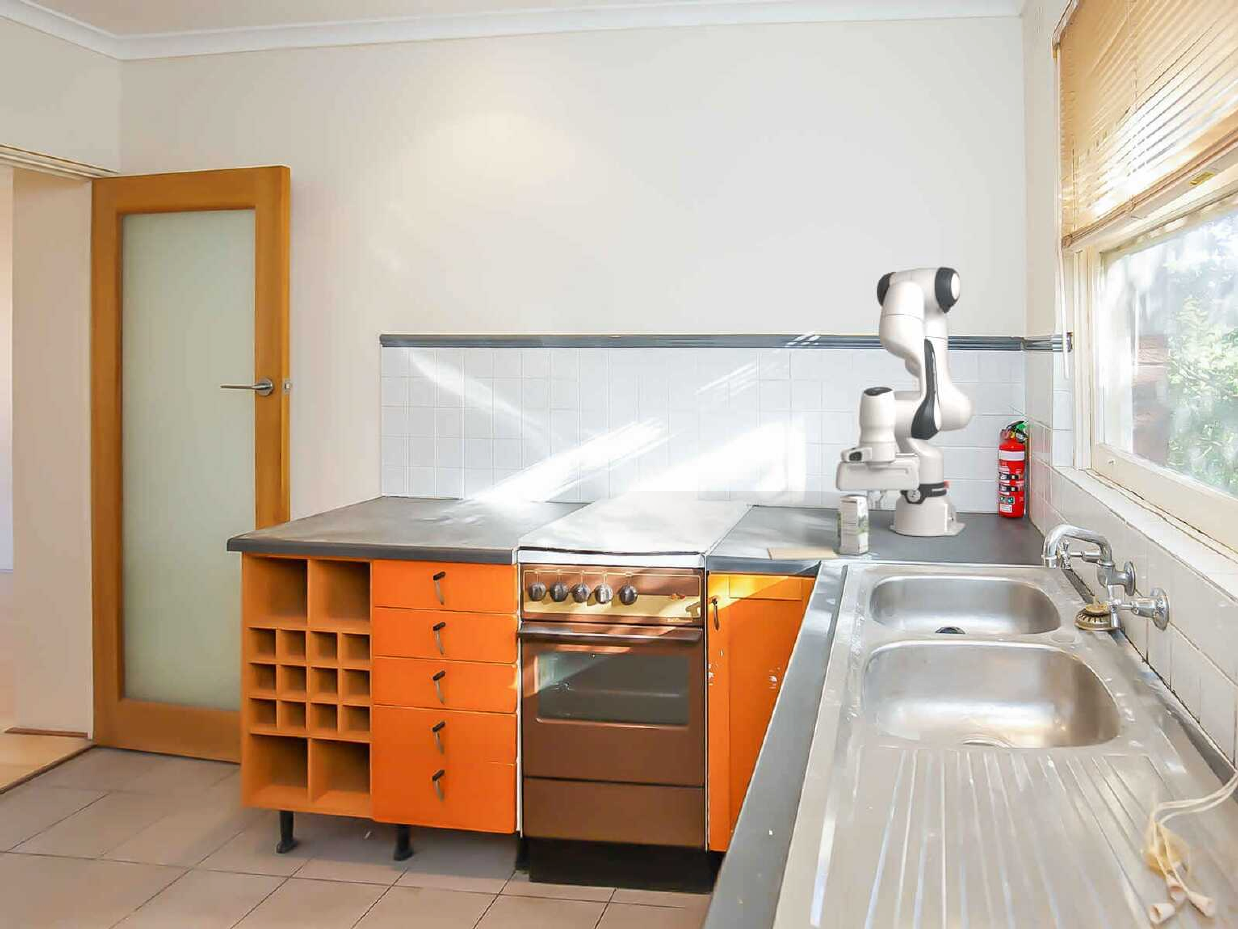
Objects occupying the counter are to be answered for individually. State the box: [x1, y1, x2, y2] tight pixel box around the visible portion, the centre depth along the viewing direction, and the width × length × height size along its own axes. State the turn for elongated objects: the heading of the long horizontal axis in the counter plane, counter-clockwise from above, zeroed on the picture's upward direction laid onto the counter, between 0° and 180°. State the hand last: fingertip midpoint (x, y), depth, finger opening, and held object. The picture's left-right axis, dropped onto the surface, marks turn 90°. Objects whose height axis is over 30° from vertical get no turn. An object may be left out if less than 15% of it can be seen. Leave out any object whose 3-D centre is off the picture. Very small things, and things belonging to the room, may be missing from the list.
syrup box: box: [837, 493, 870, 556], centre depth 265 cm, size 6×6×14 cm
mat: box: [767, 546, 839, 561], centre depth 267 cm, size 16×14×1 cm
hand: (876, 508), depth 264 cm, fingers closed
